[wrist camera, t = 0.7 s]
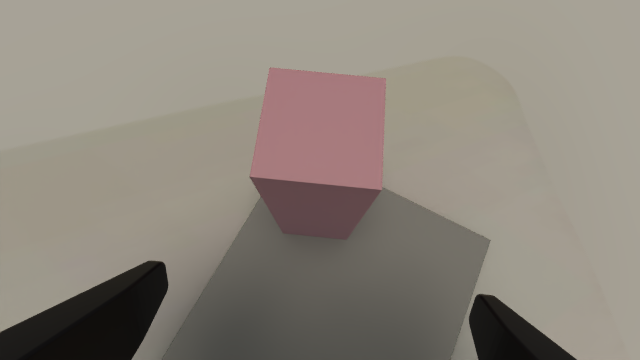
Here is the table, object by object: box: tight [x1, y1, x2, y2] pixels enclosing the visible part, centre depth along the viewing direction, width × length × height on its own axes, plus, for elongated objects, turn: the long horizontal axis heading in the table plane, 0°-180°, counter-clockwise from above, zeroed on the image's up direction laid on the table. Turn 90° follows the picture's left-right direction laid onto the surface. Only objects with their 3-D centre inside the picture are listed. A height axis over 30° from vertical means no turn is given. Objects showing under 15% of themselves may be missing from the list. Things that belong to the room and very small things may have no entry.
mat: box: [162, 187, 490, 360], centre depth 20 cm, size 19×16×1 cm
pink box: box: [250, 68, 386, 240], centre depth 17 cm, size 4×4×12 cm
